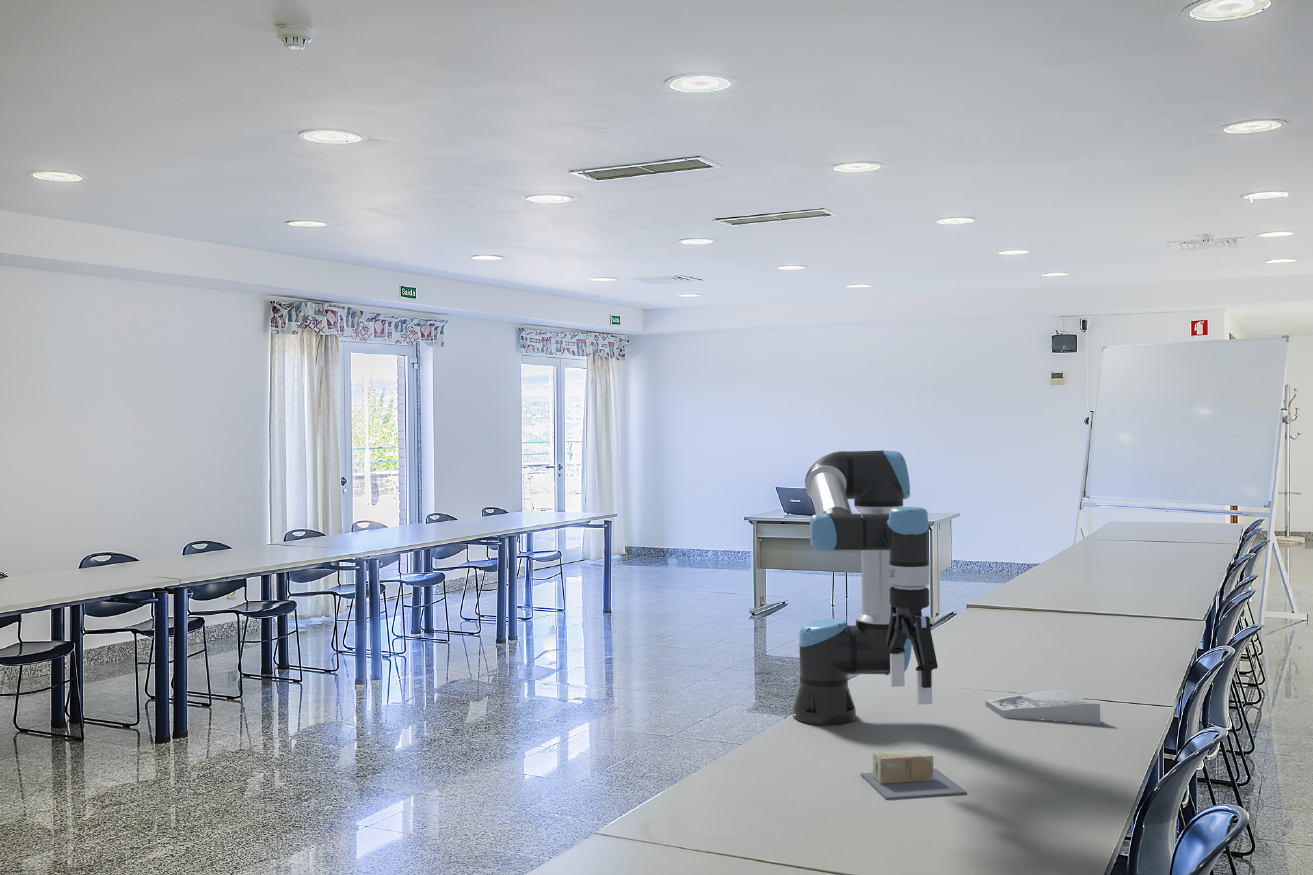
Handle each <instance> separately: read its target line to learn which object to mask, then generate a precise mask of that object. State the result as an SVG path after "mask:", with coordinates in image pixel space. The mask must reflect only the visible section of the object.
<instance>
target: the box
mask: <svg viewBox="0 0 1313 875" xmlns="http://www.w3.org/2000/svg"><path fill="white" fill-rule="evenodd" d="M933 769H934V755H932V754H931V753H930V752H929V751H927V750H926V749H924V748H923V749H911V750H910V749H909V750H894V751H876V752H872V773H873V777H874V778H875V779H876V780H877V781H878V782H879V783H880V784H887V783H901V782H917V781H933Z"/></svg>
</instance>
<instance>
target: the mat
mask: <svg viewBox="0 0 1313 875" xmlns="http://www.w3.org/2000/svg"><path fill="white" fill-rule="evenodd" d="M860 776H861V777H862V778H863V780H865V781H866V782H867V783H868V784H870V786H871V787H872V788H873V789H874V790H876V791H877V793H879V795H881V796H882V797H883V798H884V799H885V800H896V799H897V800H898V799H912V798H913V799H914V798H926V797H927V798H929V797H940V796H941V797H942V796H943V797H944V796H957V795H967V794H968V792H967V790H965V789H964V788H962V787H961V786H960V785H958V784H957V783H956V782H955V781H954V780H952V779H950V778H949V777H948V776H946V775H945V774H944V773H943V772H941V771H940V770H939V769H937V768H933V781H917V782H901V783H887V784H880V783H879V782H878V781H877V780H876V779H875V778H874V777H873V772H862V773H860Z"/></svg>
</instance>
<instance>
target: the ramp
mask: <svg viewBox="0 0 1313 875" xmlns="http://www.w3.org/2000/svg"><path fill="white" fill-rule="evenodd" d="M984 703H985V704H984V705H985V707H986V708H987V709H989V710H990V711H992V712H994V713H995V714H996V715H998V714H999V715H1000V717H1001V718H1003V717H1004V718H1003V719H1013V718H1014V719H1015V718H1017V719H1018V720H1028V719H1044V720H1053V721H1052V722H1057V721H1072V722H1080V723H1079V724H1086V723H1097V724H1096V725H1101V704H1100V703H1096V702H1090V701H1088V700H1087V699H1084V698H1083V697H1082V696H1080V695H1079V694H1078V695H1077V694H1076V693H1075V692H1074V693H1073V692H1072V691H1069V690H1067V689H1052V690H1051V689H1049V690H1041V691H1036V692H1029V693H1025V694H1024V693H1022V694H1017V695H1016V694H1015V695H1009V696H1002V697H997V698H992V699H988V700H985V702H984ZM999 715H998V716H999ZM1055 720H1056V721H1055Z"/></svg>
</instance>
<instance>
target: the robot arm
mask: <svg viewBox="0 0 1313 875" xmlns="http://www.w3.org/2000/svg"><path fill="white" fill-rule="evenodd" d="M804 484H805V485H804V486H805V491H806V494H807V495H808V497H809V498H810V499H811V500H812V502H813V507H814V508H813V509H814V511H815V514H813V515H812V516H811V517H810V522H809V536H810V537H809V538H810V546H811V547H812V549H814V550H815V551H826V552H833V551H834V552H835V551H839V552H840V551H861V553H860V554H861V559H860V560H861V612H860V613H859V614H858V615H857V616H855V625H848V622H847V620H846V619H844V618H823V619H822V618H821V619H816V620H812V621H809V622H806V623H805V624H803V625H802V626H801V627H800V629H799V634H798V635H799V636H798V637H799V638H798V648H799V651H798V652H799V686H798V689H797V691H796V692H797V693H796V696H795V697H794V702H793V704H792V717H793V718H794V719H795V720H796V721H799V722H802V723H805V724H811V725H820V726H822V725H825V726H827V725H828V726H833V725H843V724H847V723H851V722H853V721H854V720H856V717H857V716H856V712H857V709H856V706H855V702H854V701H853V700H854V699H853V697H852V694H851V691H850V688H849V680H848V679H849V677H848V676H849V675H884V676H890V677H889V678H890V684H889V685H890V687H892V688H895V687H896V688H897V687H905V685H906V683H905V682H906V681H905V672H906V671H907V670H908V667H909V665H910V661H911V657H912V650H913V652H914V653H913V654H914V655H915V656H914V657H915V659H916V662H917V666H916V667H915V671H916V704H917V705H933V670H937V669H938V665H939V664H938V661H937V655H936V651H935V645H934V640H933V637H932V636H933V635H932V631H931V619H930V617H929V615H927V616H923V614H922V610H923V609H926V608H928V607H929V606H930V589H929V588H928V587H927V586H929V585H930V564H929V563H930V562H929V530H930V529H929V528H930V523H929V514H928V511H927V509H925V508H923V507H918V506H904V500H907V499H909V498H910V496H911V491H910V490H911V485H910V477H909V470H908V467H907V461H906V460H905V457H904V456H903V454H902V453H901V452H900V451H897V450H896V451H895V450H884V449H882V450H852V451H851V450H850V451H846V450H841V451H840V450H839V451H833V452H830V453H828V454H826V455H824V456H822V457H820V458H819V459H818V460H816V461H815V462H814V463H813V464H812V465H811V466H810V467H809V469H808V470H807V473H806V475H805V479H804ZM849 500H853V501H854V503H853V504H854V505H853V507H854V508H855V509H856V510H857V511H858V512H859V513H852V509H851V506H850V503H849ZM794 714H796V715H795V716H794Z"/></svg>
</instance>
